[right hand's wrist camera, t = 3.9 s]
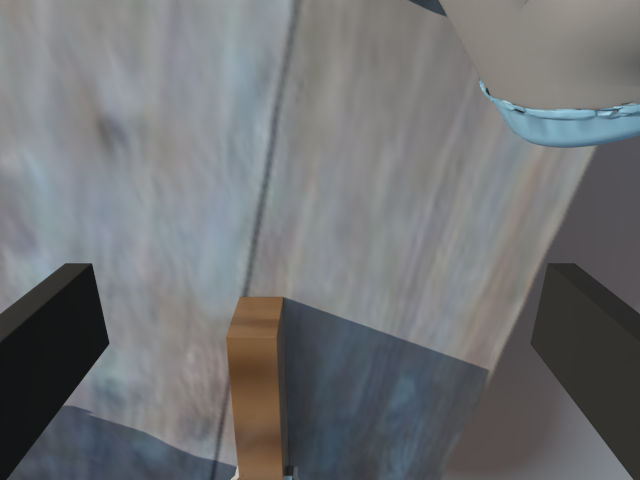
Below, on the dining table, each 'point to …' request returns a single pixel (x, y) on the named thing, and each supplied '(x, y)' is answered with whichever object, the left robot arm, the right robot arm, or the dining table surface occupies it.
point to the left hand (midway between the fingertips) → (268, 468)
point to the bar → (259, 387)
